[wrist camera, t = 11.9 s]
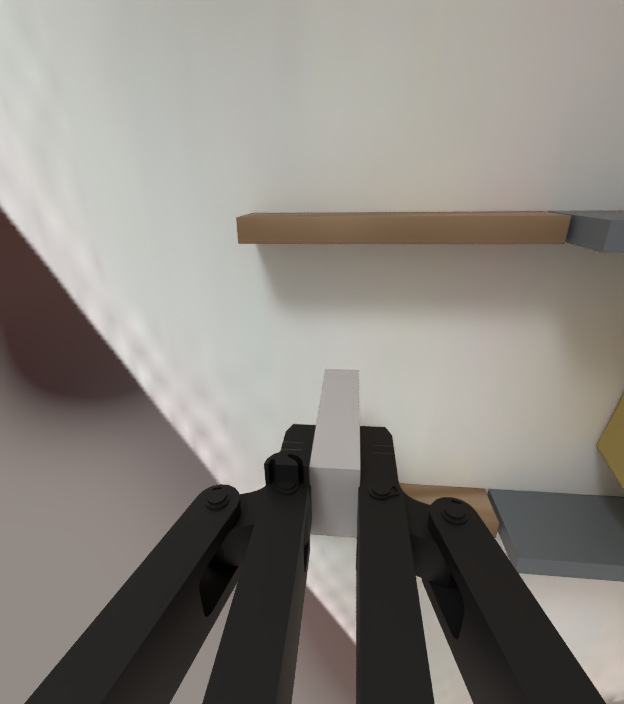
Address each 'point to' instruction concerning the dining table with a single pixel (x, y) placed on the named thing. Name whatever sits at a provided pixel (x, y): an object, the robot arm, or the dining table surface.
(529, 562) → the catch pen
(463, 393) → the dining table surface
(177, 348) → the dining table surface
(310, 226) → the lane rails
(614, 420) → the cheese
